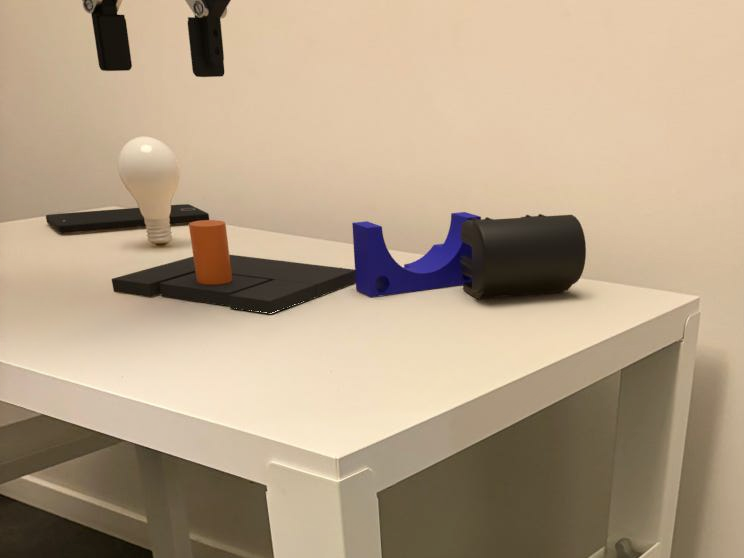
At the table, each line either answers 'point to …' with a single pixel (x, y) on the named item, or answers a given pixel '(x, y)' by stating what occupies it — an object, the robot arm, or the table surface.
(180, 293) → the small pad
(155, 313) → the table surface
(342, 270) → the big pad
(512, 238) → the end cap
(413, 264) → the blue pipe cradle
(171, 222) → the cell phone
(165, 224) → the lightbulb
